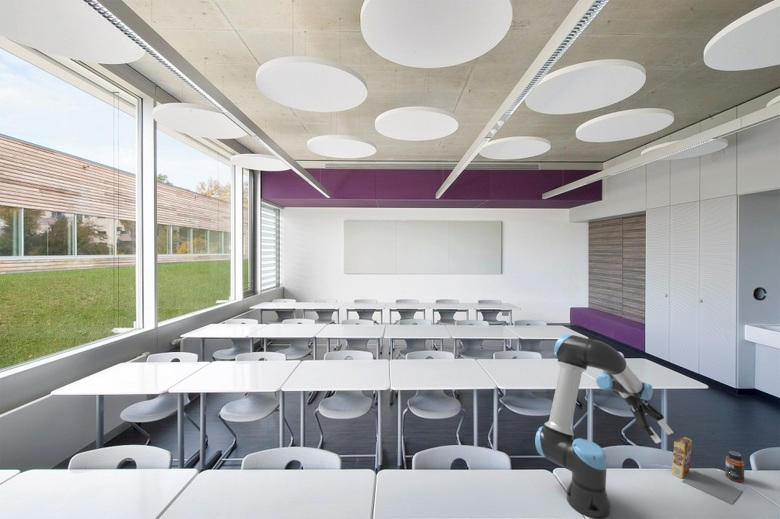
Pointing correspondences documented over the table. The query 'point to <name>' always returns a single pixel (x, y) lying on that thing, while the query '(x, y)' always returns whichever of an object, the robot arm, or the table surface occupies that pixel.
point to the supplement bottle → (734, 467)
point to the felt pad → (712, 487)
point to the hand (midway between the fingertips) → (665, 438)
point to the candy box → (681, 456)
